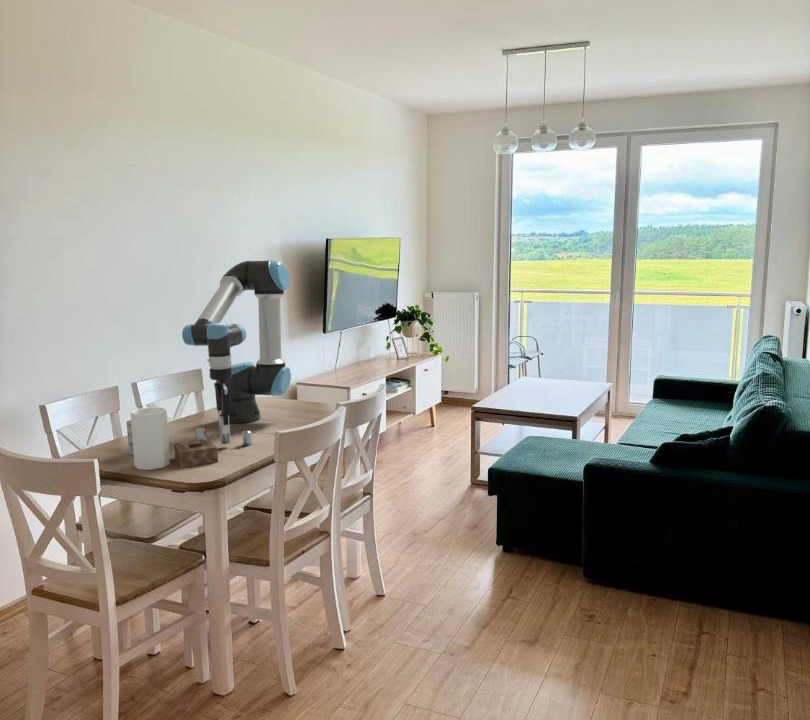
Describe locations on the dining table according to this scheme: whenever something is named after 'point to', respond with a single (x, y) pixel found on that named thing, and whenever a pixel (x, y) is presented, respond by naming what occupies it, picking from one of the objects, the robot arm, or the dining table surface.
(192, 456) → the hole block
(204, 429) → the medium pin
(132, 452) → the ink box
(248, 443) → the short pin
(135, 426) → the cup
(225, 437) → the long pin
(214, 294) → the robot arm
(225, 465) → the dining table surface
